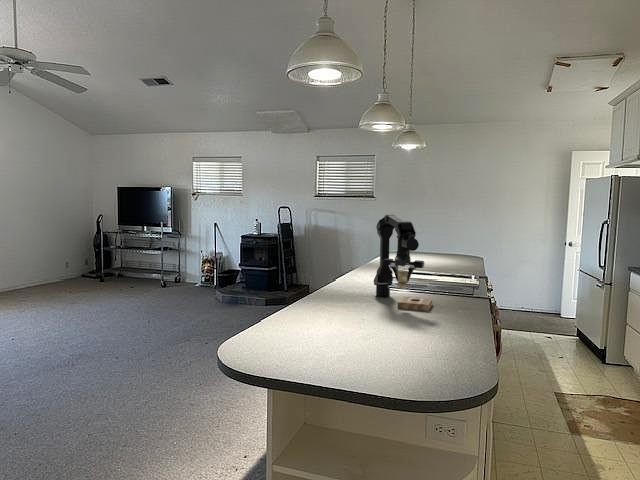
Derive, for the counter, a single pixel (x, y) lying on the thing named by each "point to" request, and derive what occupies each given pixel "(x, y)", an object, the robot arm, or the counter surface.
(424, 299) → the seat block
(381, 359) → the counter surface
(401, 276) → the peg
